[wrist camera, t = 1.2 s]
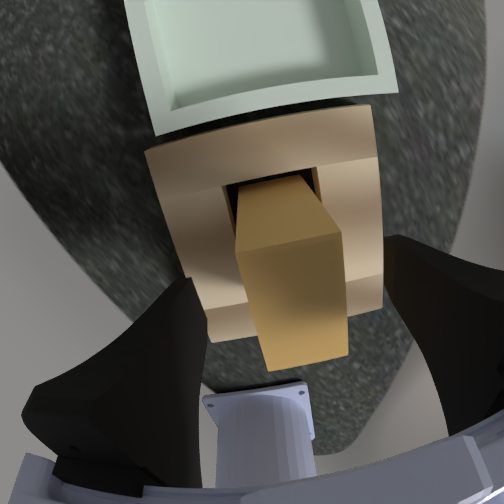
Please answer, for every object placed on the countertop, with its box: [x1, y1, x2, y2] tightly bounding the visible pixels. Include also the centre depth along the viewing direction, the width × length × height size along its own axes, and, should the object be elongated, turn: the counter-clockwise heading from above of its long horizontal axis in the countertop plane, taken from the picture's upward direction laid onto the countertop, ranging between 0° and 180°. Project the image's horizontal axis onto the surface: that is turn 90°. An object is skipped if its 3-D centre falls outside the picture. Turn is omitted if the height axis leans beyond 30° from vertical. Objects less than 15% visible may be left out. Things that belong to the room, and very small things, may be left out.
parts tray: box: [124, 0, 398, 136], centre depth 10 cm, size 10×10×2 cm
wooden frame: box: [144, 104, 383, 343], centre depth 15 cm, size 11×10×2 cm
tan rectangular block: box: [235, 174, 348, 372], centre depth 13 cm, size 5×3×7 cm, turn 12°
